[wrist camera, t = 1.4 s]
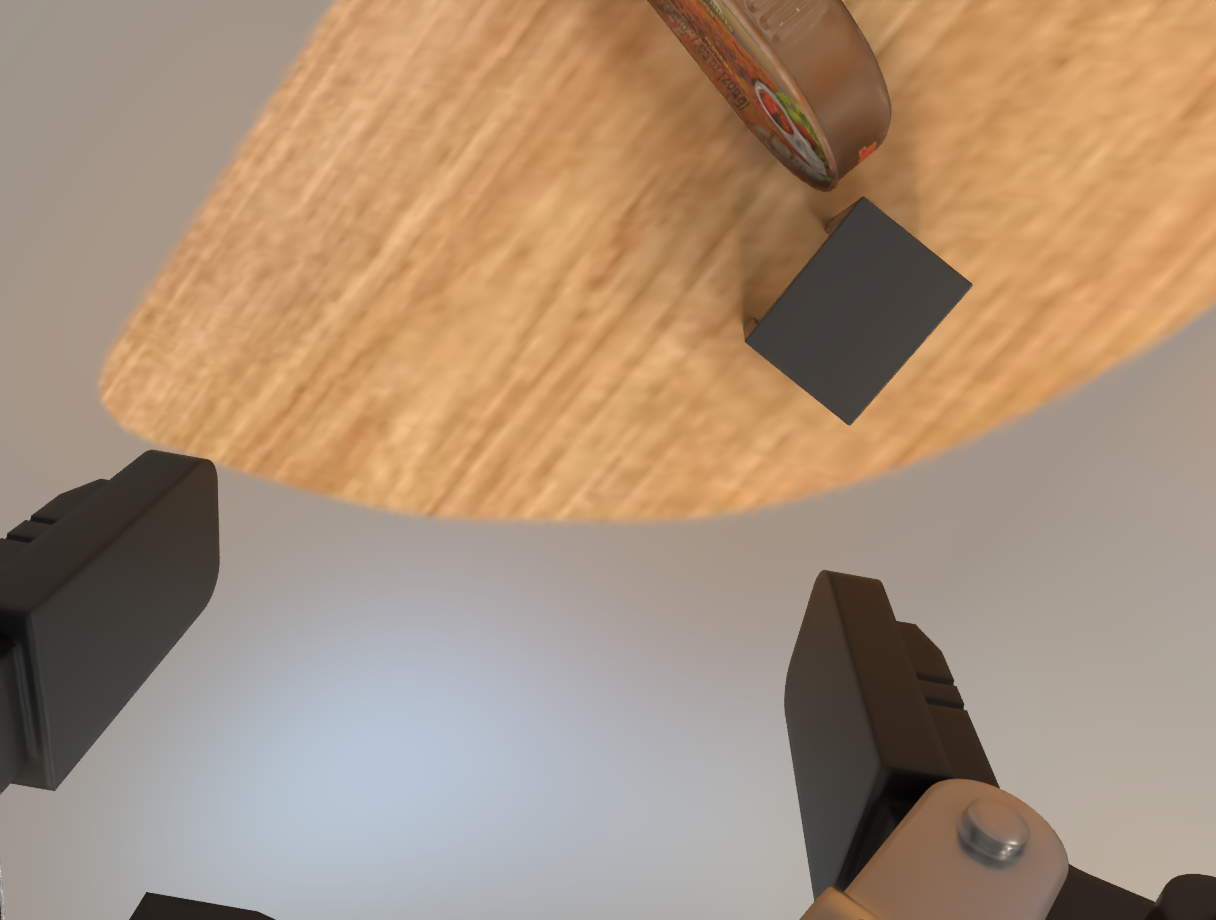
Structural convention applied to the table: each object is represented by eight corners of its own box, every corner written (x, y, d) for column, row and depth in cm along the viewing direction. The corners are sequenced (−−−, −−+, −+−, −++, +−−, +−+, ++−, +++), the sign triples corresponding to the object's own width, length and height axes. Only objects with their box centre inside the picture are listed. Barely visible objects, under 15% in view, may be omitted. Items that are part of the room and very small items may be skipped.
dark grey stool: (833, 216, 33) (863, 195, 26) (919, 285, 34) (973, 285, 26) (742, 329, 35) (744, 341, 27) (824, 395, 35) (849, 426, 27)
